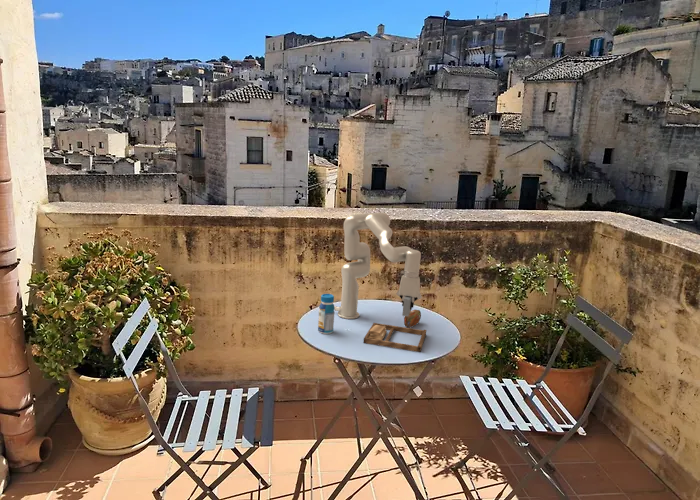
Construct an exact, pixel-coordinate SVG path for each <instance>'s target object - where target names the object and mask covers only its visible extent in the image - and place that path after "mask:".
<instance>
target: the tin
mask: <svg viewBox="0 0 700 500" xmlns="http://www.w3.org/2000/svg"><path fill="white" fill-rule="evenodd" d="M421 318H422V313H421V310H420V309H413V310H412V309H411V311H410V314H409V316H403V325H404V327H405V328H410V327H411V328H413V327H415V326H417V325H418V324H419V323H420V321H421V320H422V319H421ZM417 323H418V324H417ZM416 324H417V325H416ZM414 325H415V326H414ZM412 326H413V327H412Z"/></svg>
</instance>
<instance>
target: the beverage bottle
mask: <svg viewBox="0 0 700 500" xmlns="http://www.w3.org/2000/svg"><path fill="white" fill-rule="evenodd" d="M334 301H335V295H334V294H332V293H323V294H321V296H320V302H321V303H320V304H319V307H318V324H317V325H318V327H317V331H318V332H319V333H320V334H324V335H329V334H332V333H334V326H335V325H334V322H335V307H334V306H335V304H334Z"/></svg>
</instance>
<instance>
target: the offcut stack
mask: <svg viewBox="0 0 700 500" xmlns="http://www.w3.org/2000/svg"><path fill="white" fill-rule="evenodd" d="M368 331H369V330H368ZM387 331H388V330H386V328H385V326H380V325H375V326H374V327H373V328H372V329H371V330H370V331H369V334H370V335H369V337H368V338H371V339H377V340H383V341H384V340H385V339H384V338H386V337H385V336H387V333H388V332H387Z"/></svg>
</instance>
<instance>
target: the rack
mask: <svg viewBox="0 0 700 500" xmlns="http://www.w3.org/2000/svg"><path fill="white" fill-rule="evenodd" d="M375 325H380V326H385V328H386V331H388V334H387V335H386V337H385V339H383V340H377V339H371V338H368V337H369V335H370V334H369V331H370V330H371V329H372V328H373V327H374V326H375ZM394 332H397V333H405V334H412V335H416V336H417V335H418V336H420V339H419V342H418V344H417V345H413V344H406V343H401V342H395V341H390V340H391V337H392V336H393V334H394ZM425 336H427V329H423V330H422V329H417V328H413V327H411V328H409V327H406V326H397V325H391V324H385V323H378V322H373V323H372V325H371V326H370V328H369V329H368V331H367V332H366V334H365V336H364V337H363V340H362V341H363V344H368V345H374V346H381V347H385V348H392V349H399V350H405V351H411V352H415V353H417V352H418V353H421V351H422V348H423V345H424V342H425V340H424V339H425V338H426V337H425Z"/></svg>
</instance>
